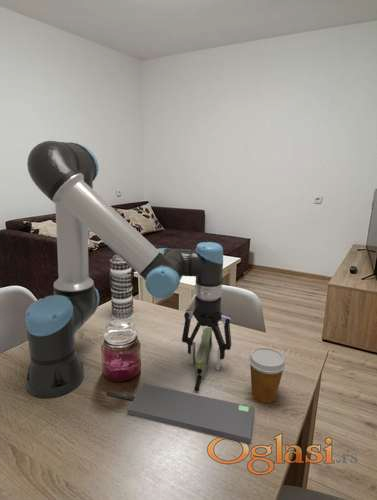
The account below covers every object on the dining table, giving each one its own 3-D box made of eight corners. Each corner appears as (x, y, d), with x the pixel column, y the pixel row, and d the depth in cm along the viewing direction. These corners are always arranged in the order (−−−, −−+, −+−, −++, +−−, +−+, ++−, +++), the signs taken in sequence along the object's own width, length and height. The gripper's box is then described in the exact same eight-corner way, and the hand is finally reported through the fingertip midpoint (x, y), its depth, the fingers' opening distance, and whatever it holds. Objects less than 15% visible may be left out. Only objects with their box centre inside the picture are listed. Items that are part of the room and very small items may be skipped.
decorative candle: (127, 308, 137) (125, 251, 131) (138, 317, 130) (137, 256, 124) (107, 314, 132) (103, 255, 125) (117, 323, 125) (114, 261, 118)
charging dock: (96, 406, 83) (96, 401, 83) (115, 382, 93) (115, 377, 92) (249, 443, 73) (250, 438, 73) (253, 412, 83) (254, 406, 82)
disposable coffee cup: (286, 392, 90) (291, 354, 87) (274, 413, 82) (278, 372, 79) (254, 379, 95) (257, 342, 92) (239, 398, 87) (242, 358, 84)
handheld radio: (213, 345, 112) (202, 394, 89) (203, 344, 113) (190, 393, 89) (213, 327, 111) (202, 373, 87) (203, 326, 111) (190, 372, 88)
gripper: (170, 296, 94) (170, 366, 100) (242, 306, 88) (237, 378, 94) (178, 287, 100) (177, 352, 107) (245, 295, 95) (240, 363, 101)
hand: (205, 364), depth 101 cm, fingers open, 7 cm apart
